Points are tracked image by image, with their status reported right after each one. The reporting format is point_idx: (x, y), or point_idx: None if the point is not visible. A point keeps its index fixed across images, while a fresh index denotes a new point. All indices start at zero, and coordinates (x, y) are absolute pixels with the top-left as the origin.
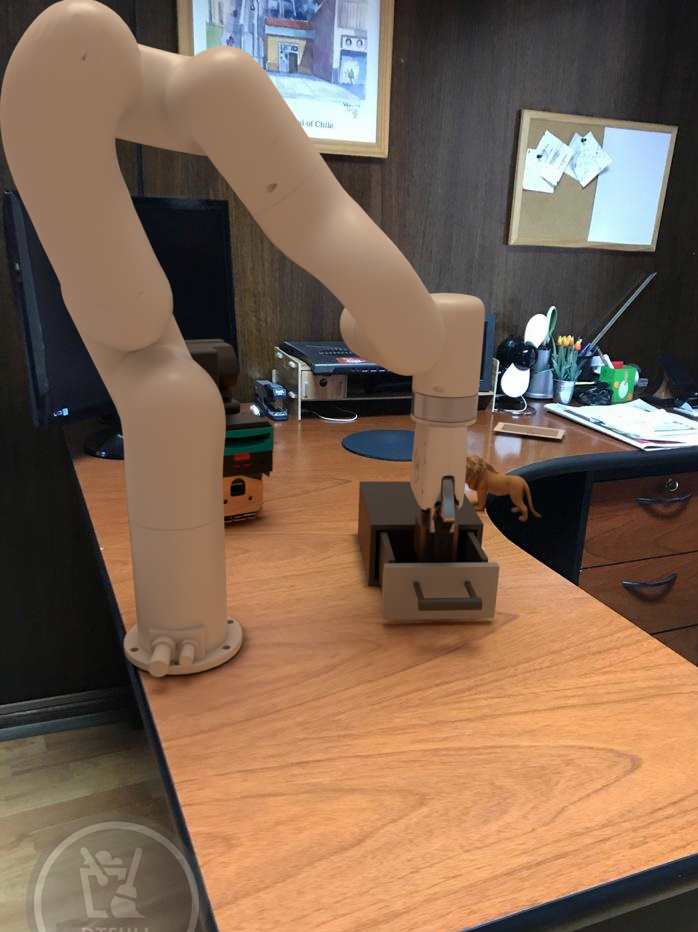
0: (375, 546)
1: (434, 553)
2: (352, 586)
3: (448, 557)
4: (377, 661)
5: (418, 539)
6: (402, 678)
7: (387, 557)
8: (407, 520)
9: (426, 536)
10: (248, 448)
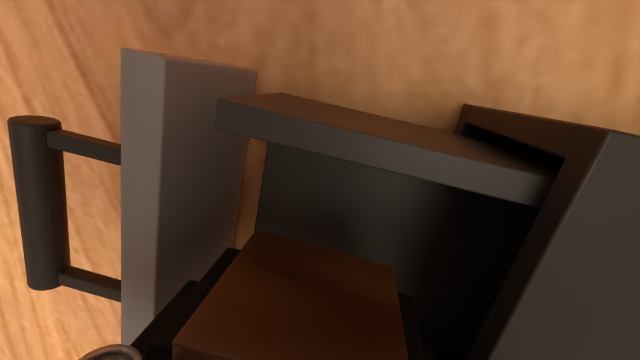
0: (516, 138)
1: (181, 289)
2: (479, 55)
3: None
4: (103, 5)
5: (271, 285)
6: (44, 40)
7: (252, 106)
8: (562, 343)
9: (178, 319)
10: None
